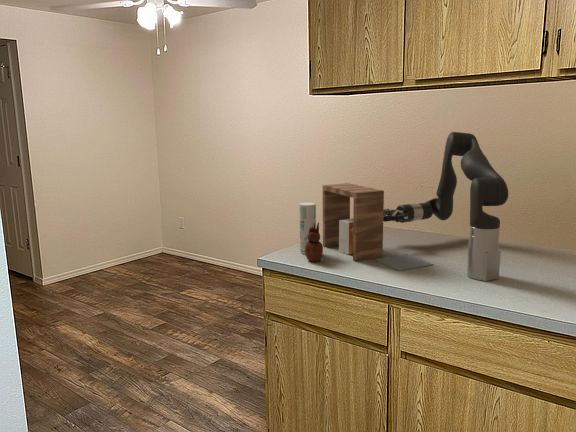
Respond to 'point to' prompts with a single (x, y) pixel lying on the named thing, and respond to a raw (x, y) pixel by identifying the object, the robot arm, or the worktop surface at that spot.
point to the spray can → (306, 222)
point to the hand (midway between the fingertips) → (377, 217)
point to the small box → (346, 236)
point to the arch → (355, 218)
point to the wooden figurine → (314, 245)
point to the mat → (403, 262)
